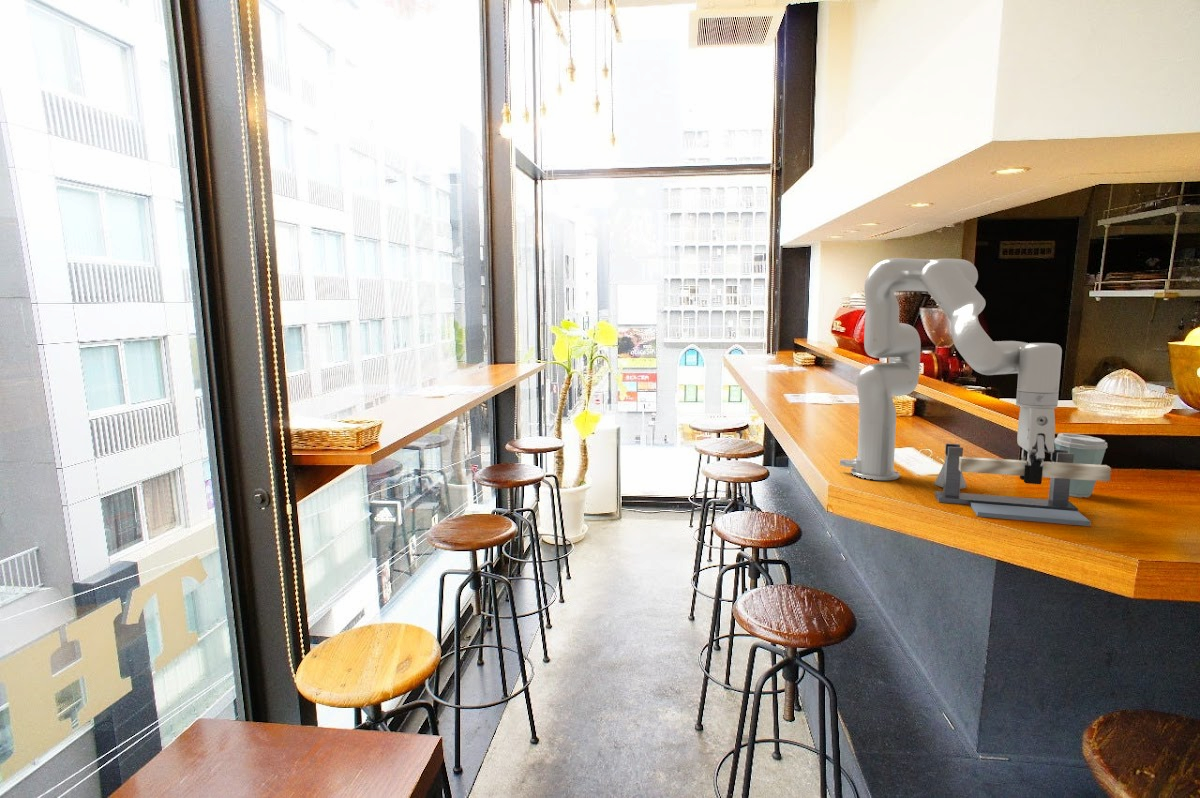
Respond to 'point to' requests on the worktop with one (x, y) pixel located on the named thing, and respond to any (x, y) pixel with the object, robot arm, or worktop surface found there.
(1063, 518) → the mat
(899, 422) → the worktop surface
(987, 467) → the rail
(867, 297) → the robot arm
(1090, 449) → the disposable coffee cup
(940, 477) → the flask
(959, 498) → the grey holder stand
